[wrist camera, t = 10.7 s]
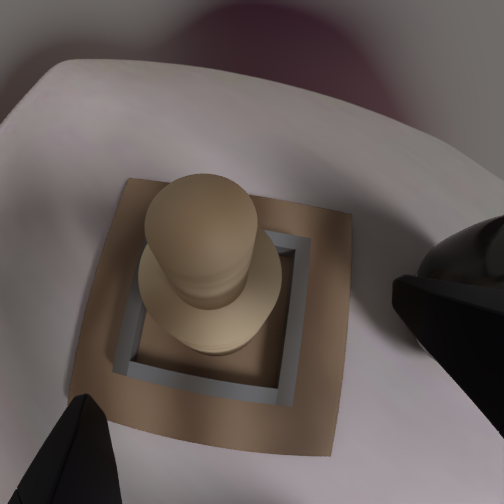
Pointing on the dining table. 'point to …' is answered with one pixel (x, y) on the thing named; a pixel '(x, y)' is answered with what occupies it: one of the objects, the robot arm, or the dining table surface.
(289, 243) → the board
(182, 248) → the wooden peg
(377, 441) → the dining table surface
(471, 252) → the black egg-shaped body
